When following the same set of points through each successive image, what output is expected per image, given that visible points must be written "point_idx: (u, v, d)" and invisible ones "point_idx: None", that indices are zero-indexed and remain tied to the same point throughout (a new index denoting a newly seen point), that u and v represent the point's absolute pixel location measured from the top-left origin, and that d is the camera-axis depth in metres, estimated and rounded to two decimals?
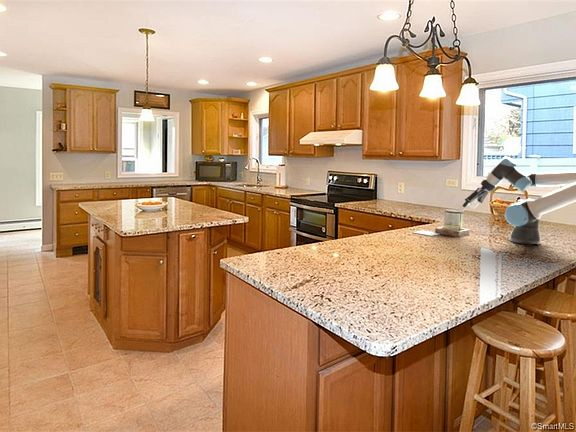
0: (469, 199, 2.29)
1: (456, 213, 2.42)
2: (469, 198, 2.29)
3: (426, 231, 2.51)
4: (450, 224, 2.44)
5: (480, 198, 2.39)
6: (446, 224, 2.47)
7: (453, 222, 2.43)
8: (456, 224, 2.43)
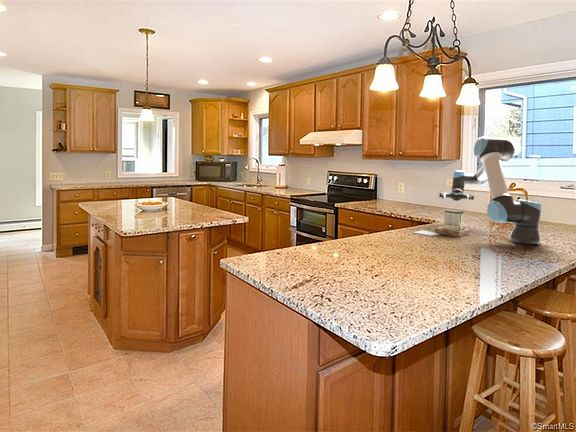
0: None
1: (456, 213, 2.42)
2: None
3: (426, 231, 2.51)
4: (450, 224, 2.44)
5: (465, 196, 2.61)
6: (446, 224, 2.47)
7: (453, 222, 2.43)
8: (456, 224, 2.43)
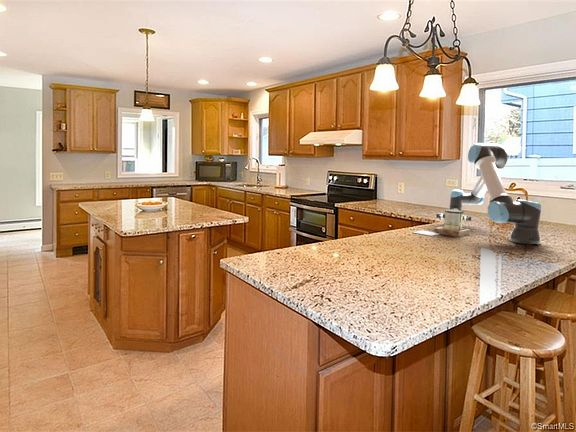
0: None
1: (456, 213, 2.42)
2: None
3: (426, 231, 2.51)
4: (450, 224, 2.44)
5: None
6: (446, 224, 2.47)
7: (453, 222, 2.43)
8: (456, 224, 2.43)
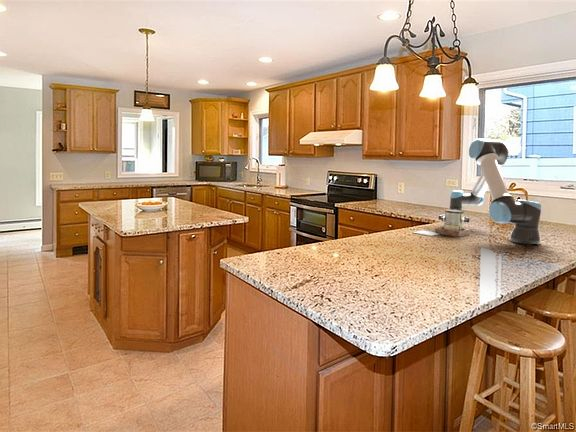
0: None
1: (456, 213, 2.42)
2: None
3: (426, 231, 2.51)
4: (450, 224, 2.44)
5: None
6: (446, 224, 2.47)
7: (453, 222, 2.43)
8: (456, 224, 2.43)
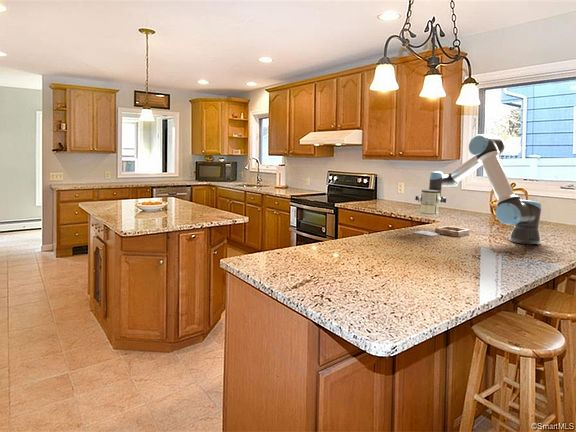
0: None
1: (432, 192, 2.38)
2: None
3: (426, 231, 2.51)
4: (426, 204, 2.40)
5: None
6: (422, 204, 2.42)
7: (429, 202, 2.39)
8: (432, 204, 2.39)
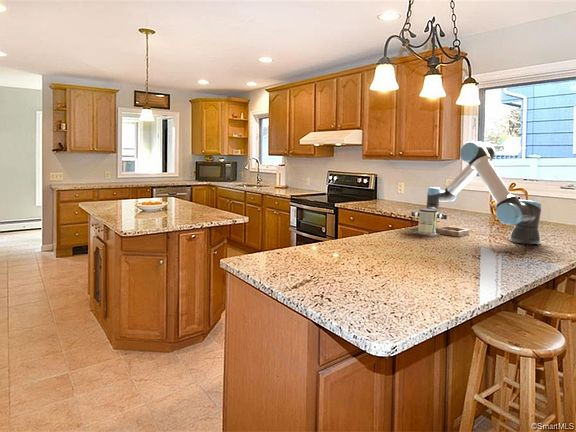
0: None
1: (430, 212, 2.39)
2: None
3: None
4: (423, 223, 2.41)
5: (438, 215, 2.47)
6: (420, 223, 2.43)
7: (427, 221, 2.40)
8: (430, 223, 2.40)
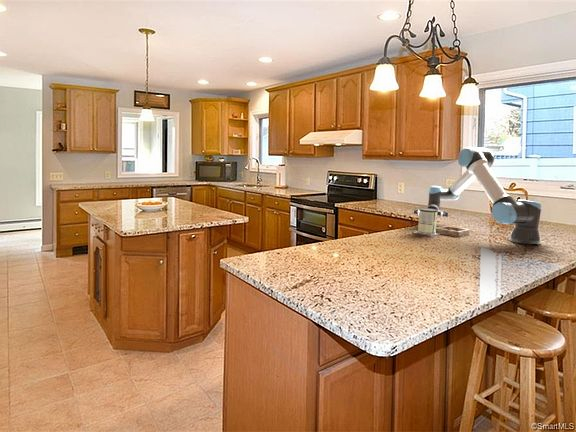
0: None
1: (430, 212, 2.39)
2: None
3: None
4: (423, 223, 2.41)
5: (439, 213, 2.59)
6: (420, 223, 2.43)
7: (427, 221, 2.40)
8: (430, 223, 2.40)
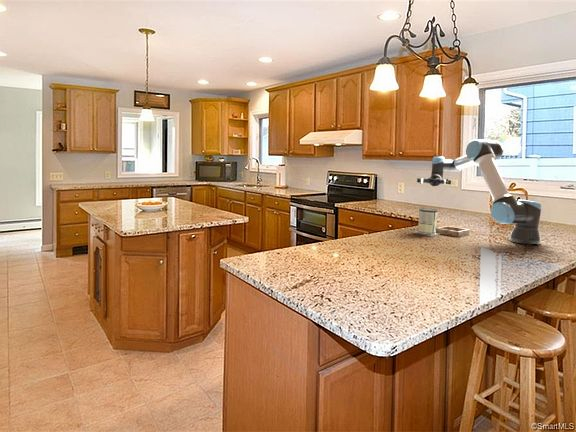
0: None
1: (430, 212, 2.39)
2: None
3: None
4: (423, 223, 2.41)
5: (443, 181, 2.61)
6: (420, 223, 2.43)
7: (427, 221, 2.40)
8: (430, 223, 2.40)
